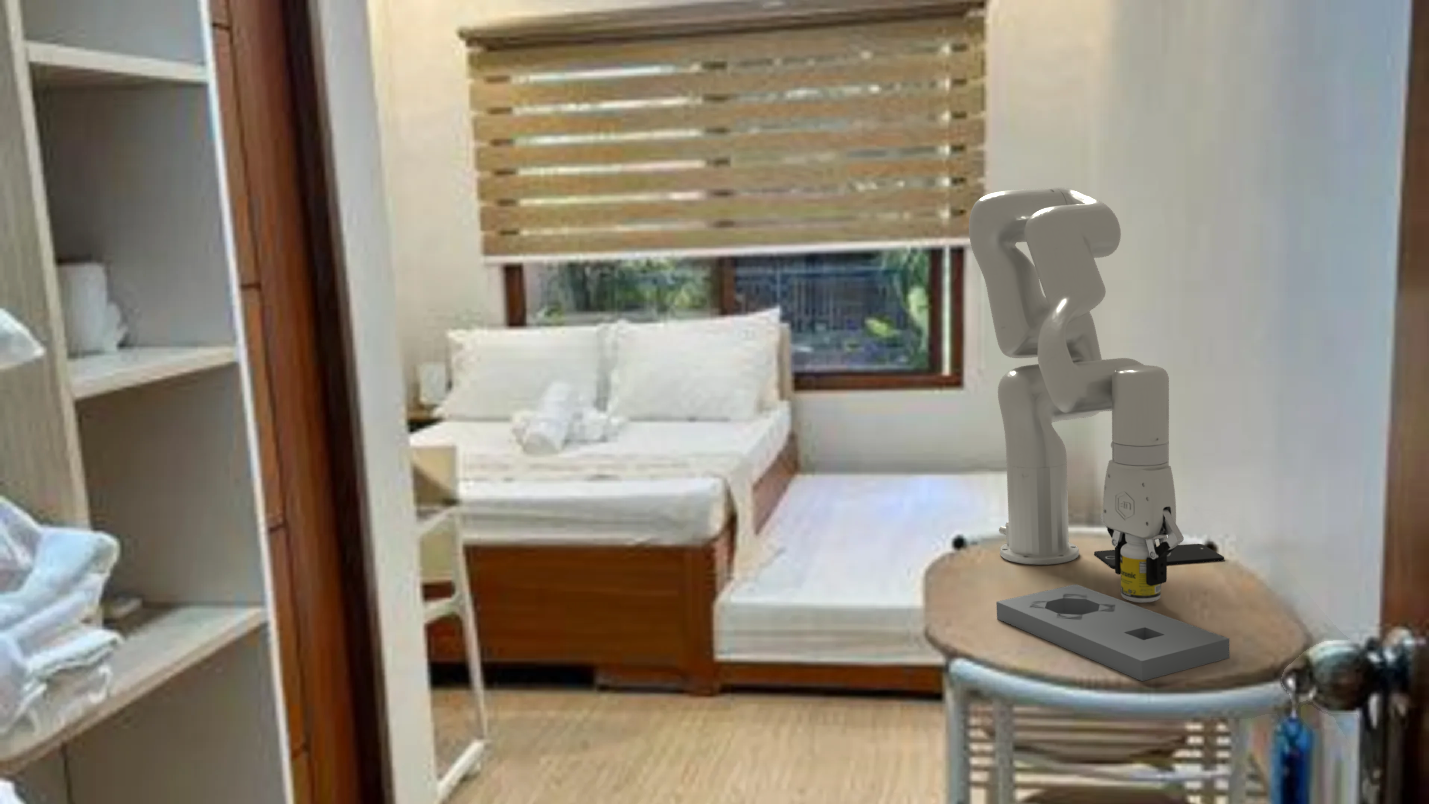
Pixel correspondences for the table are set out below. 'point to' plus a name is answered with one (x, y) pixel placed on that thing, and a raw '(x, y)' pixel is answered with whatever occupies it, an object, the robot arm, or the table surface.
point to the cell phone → (1172, 555)
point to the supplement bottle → (1136, 572)
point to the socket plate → (1113, 631)
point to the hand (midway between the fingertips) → (1140, 576)
